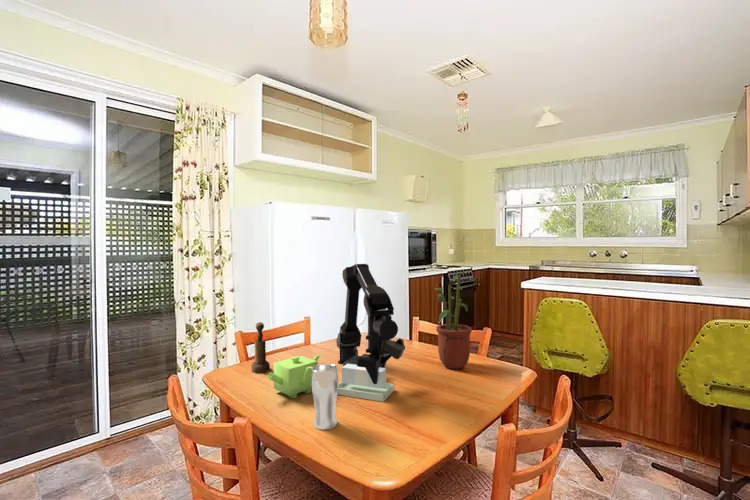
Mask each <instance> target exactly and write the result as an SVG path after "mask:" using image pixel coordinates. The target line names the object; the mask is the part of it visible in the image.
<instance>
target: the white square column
mask: <svg viewBox="0 0 750 500" xmlns="http://www.w3.org/2000/svg"><path fill="white" fill-rule="evenodd" d="M341 381H342V383H346V384H353V385H360V386H367V387H374V388H381V389H382V388H383V387H384V386H385V385H386V383H387V368H386V367H385V368H379V373H378V381H377V384H373V382H372V380H371V378H370V376H369V374H368V372H367V370H366V368H365V367H358V366H357V365H355V364H346V365H345V366H343V365H342V367H341Z"/></svg>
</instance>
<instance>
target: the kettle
mask: <svg viewBox="0 0 750 500" xmlns="http://www.w3.org/2000/svg"><path fill="white" fill-rule="evenodd" d="M322 355H323V354H321V353H320V354H317V355H315V356H314V357H313V359H312V358H309V357H306V356H303V355H299V356H297V355H296V356H295V355H294V356H292V357H291V358H287V359H283V360H280V361H276V362H273V372H269V373H268V375H267V380H270V381H272V382H273V389H275V390H277V391H279V392H280V394H285V395H286V396H288V397H289V398H290V399H296V398H297V397H298V394H299V393H302V392H304V393H305V394H310V393H312V368H313V367H314V366H316V365H319V364H318V361H319V359H320V357H321V356H322Z"/></svg>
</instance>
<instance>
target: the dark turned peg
mask: <svg viewBox="0 0 750 500" xmlns="http://www.w3.org/2000/svg"><path fill="white" fill-rule="evenodd" d="M264 327H265V324H264V323H263V322H262V321H261V322H256V324H255V329H256V331H257V334H256V340H254V362H253V363H252V364H251V373H255V374H261V373H266V372H268V371H269V370H270V369H271V368H270V362H269V361H268V360H267V353H266V348H267V347H266V339H263V337H264V333H263V330H264Z"/></svg>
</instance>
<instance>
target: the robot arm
mask: <svg viewBox="0 0 750 500" xmlns="http://www.w3.org/2000/svg"><path fill="white" fill-rule="evenodd" d="M342 280H343V283H344V284H345V286H346V289H347V290H346V299H345V300H346V301H345V314H344V322H343V323H342V324H341V326H340V327H339V332H338V334H337V338H336V341H335V343H336V347H337V348H338V349H339V360H338V361H337V363H338V364H343V363H344V362H345V361H347V360H348V359H350V358H351V357H353V356H360V357H359V358H358V359H357V366H358V367H365V368H366V370H367V372H368V374H369V376H370V378H371V380H372V382H373V384H377V381H378V373H379V368H386V364H387V362H388V361H389V360H390V358H393V359H395V360H400V358H402V356H403V354H404V351H406V345H405V342H404V341H405V340H404V339H402V338H397V340H392V339H394V338H395V337H396V336H397V335H398V331H399V327H398V324H397V322H396V321H395V320H392V316H393V315H394V310H395V309H394V305H393V303H392V300H391V297H390V295H389V294H388V293H387V291H386V290H385V288H384V287H380V286H379V285H378V284H377V282H376V281H375V278H374V276H373V275H372V273H371V271H370V267H369V264H367V263H355V264H353V265H351V266H346V267H345V268H344V269H343V270H342ZM361 289H362V291H363V293H364V296H363V306H364V309H365V312H366V315H367V335H365V340H367V348H366V349H365V353H363V354H361V355H359V350H358V347H359V348H360V347H361V344H362V343H361V342H362V333H361V331H360V329H359V327H358V325H357V323H358V310H359V300H360V299H359V298H360V291H361Z"/></svg>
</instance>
